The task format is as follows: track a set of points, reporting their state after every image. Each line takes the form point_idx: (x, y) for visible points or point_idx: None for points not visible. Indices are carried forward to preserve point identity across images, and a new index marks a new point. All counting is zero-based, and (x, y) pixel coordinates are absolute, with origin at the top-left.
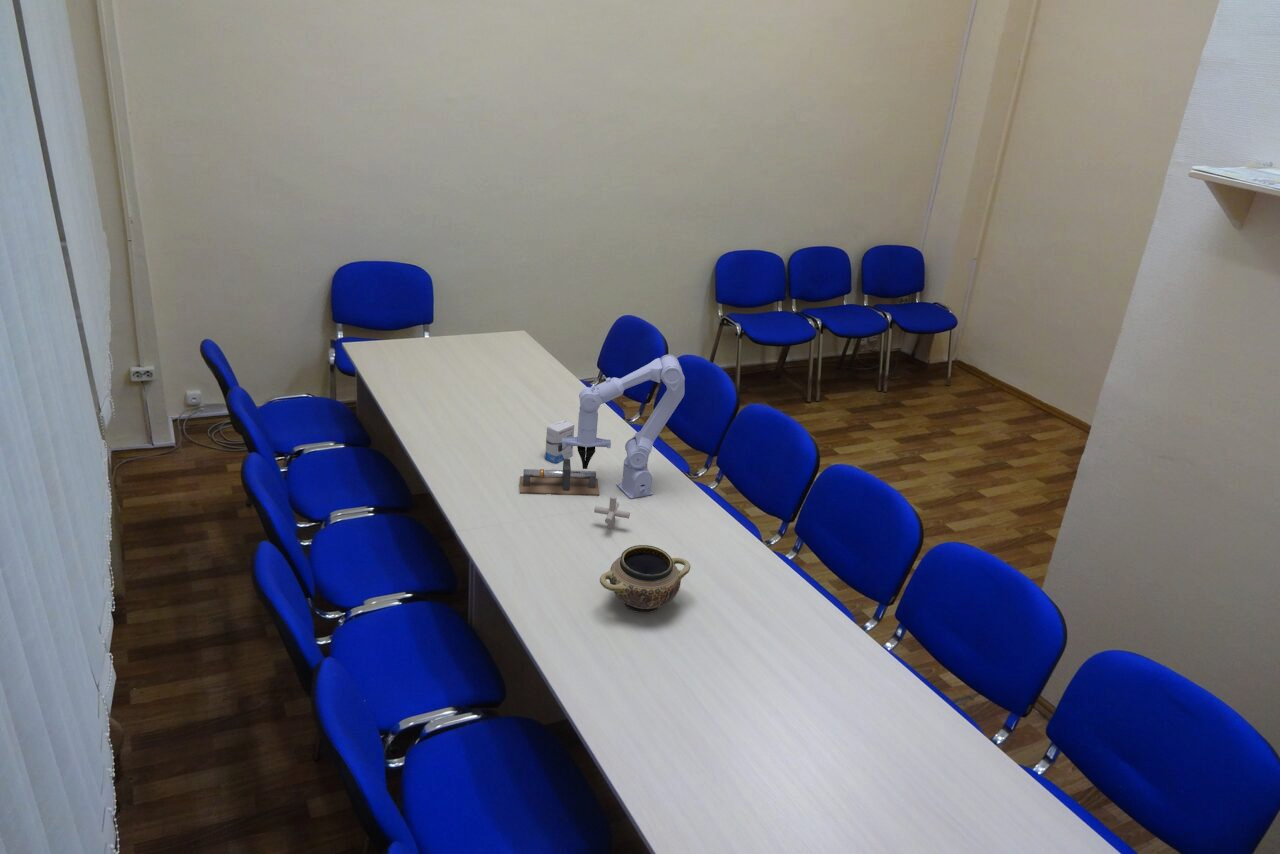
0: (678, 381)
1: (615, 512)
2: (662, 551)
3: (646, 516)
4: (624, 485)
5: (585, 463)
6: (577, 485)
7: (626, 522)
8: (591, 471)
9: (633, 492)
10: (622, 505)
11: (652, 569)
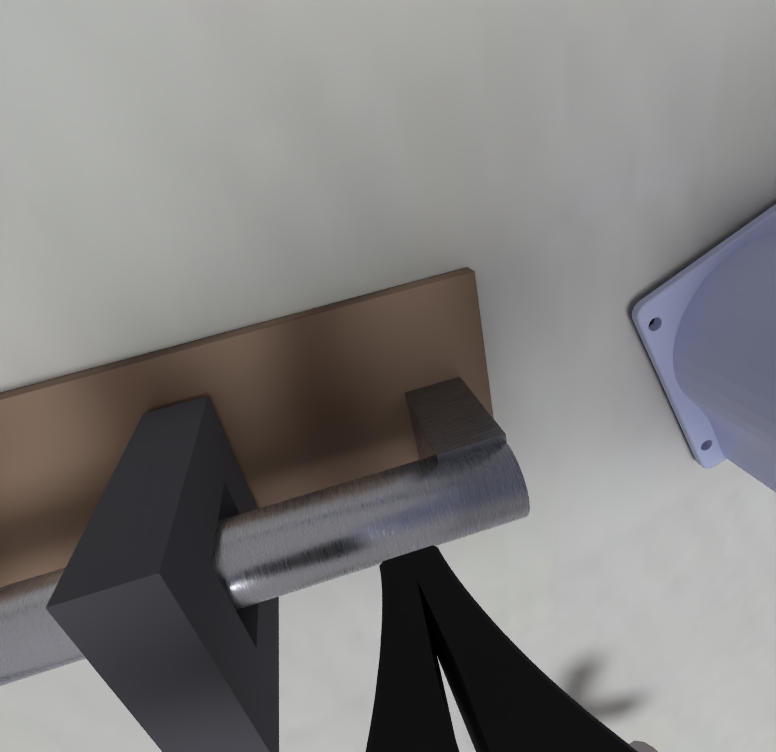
0: None
1: None
2: None
3: (744, 582)
4: (714, 412)
5: (444, 665)
6: (319, 455)
7: (639, 658)
8: (479, 518)
9: (754, 476)
10: (638, 540)
11: None
